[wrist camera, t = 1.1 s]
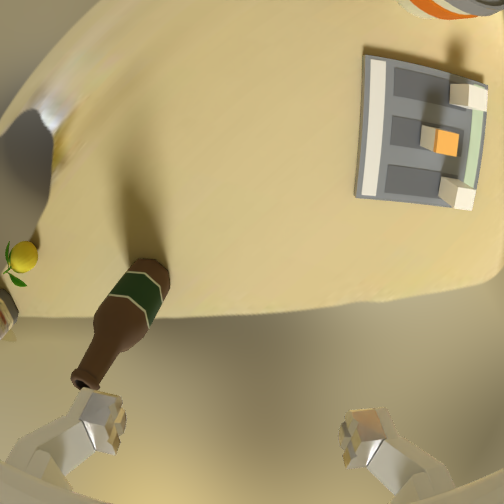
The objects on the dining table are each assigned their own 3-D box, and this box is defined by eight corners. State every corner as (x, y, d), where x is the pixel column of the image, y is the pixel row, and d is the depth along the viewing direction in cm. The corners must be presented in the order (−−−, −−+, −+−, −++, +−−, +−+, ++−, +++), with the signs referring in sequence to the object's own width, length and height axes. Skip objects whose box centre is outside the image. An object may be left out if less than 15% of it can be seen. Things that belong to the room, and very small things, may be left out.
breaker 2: (441, 176, 37) (458, 187, 32) (458, 179, 36) (476, 190, 32) (437, 195, 38) (453, 208, 34) (454, 198, 38) (471, 210, 33)
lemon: (46, 267, 53) (17, 295, 44) (26, 257, 52) (-4, 282, 43) (46, 238, 50) (13, 265, 41) (25, 228, 49) (-9, 252, 40)
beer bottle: (134, 248, 49) (51, 351, 27) (177, 267, 49) (115, 384, 28) (125, 284, 52) (56, 387, 31) (166, 302, 53) (110, 416, 32)
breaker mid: (421, 125, 34) (438, 129, 30) (441, 128, 34) (459, 134, 29) (419, 145, 35) (435, 152, 31) (438, 149, 35) (456, 156, 31)
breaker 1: (450, 83, 31) (469, 84, 26) (467, 89, 31) (487, 90, 26) (449, 103, 32) (468, 106, 28) (466, 108, 32) (486, 111, 27)
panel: (362, 55, 33) (365, 54, 31) (482, 85, 31) (488, 85, 30) (353, 194, 41) (356, 198, 40) (467, 206, 40) (472, 210, 39)
